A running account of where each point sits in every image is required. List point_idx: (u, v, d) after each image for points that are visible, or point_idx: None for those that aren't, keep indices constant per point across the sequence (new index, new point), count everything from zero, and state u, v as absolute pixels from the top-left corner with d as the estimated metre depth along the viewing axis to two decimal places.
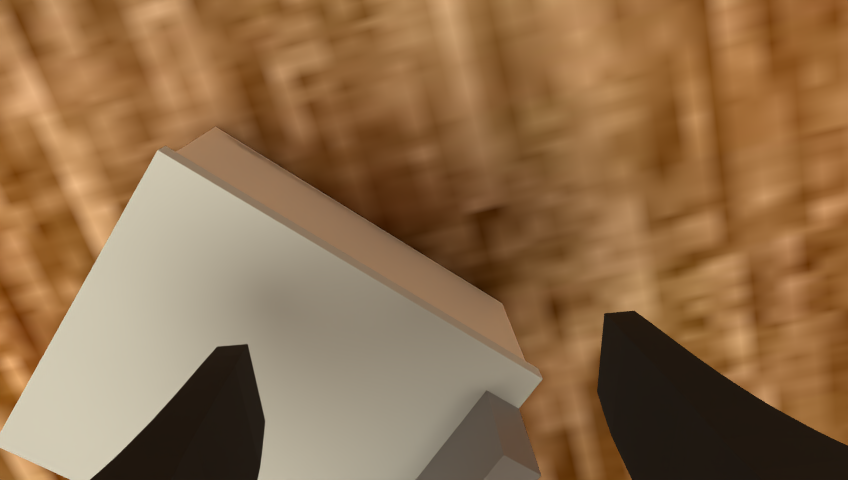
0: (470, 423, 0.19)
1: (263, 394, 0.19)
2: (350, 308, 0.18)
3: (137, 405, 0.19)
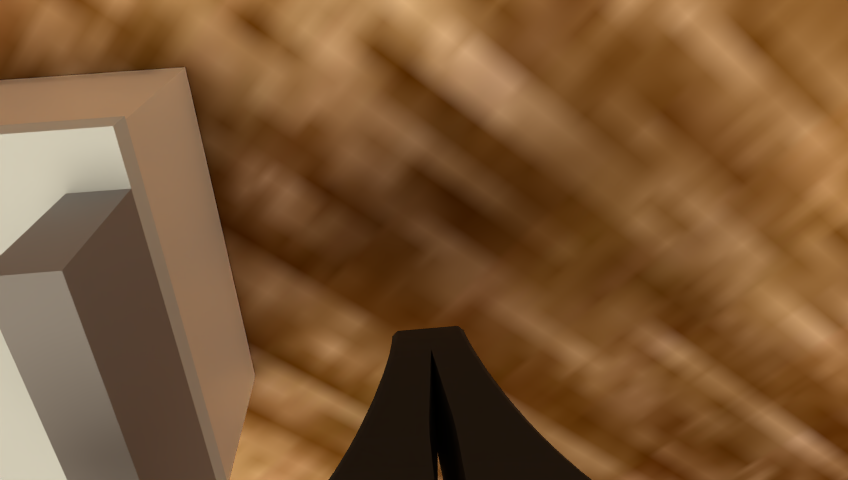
0: None
1: None
2: None
3: None
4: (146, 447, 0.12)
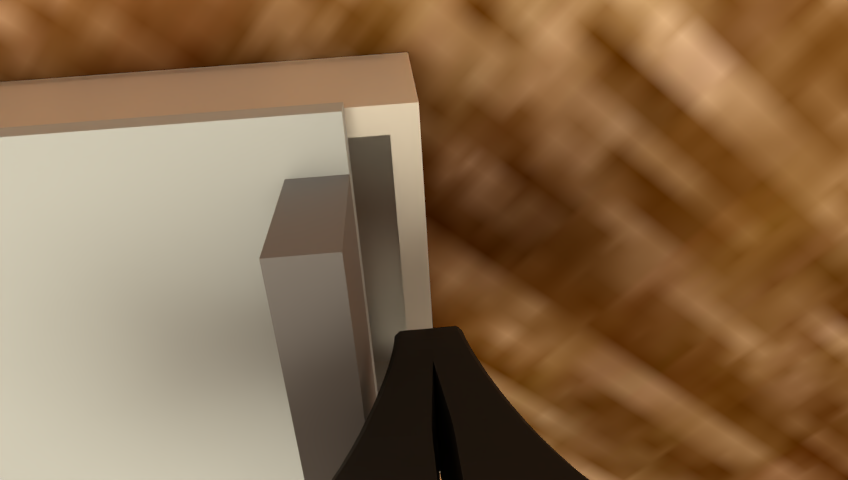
0: None
1: (51, 359, 0.14)
2: (20, 194, 0.12)
3: None
4: None
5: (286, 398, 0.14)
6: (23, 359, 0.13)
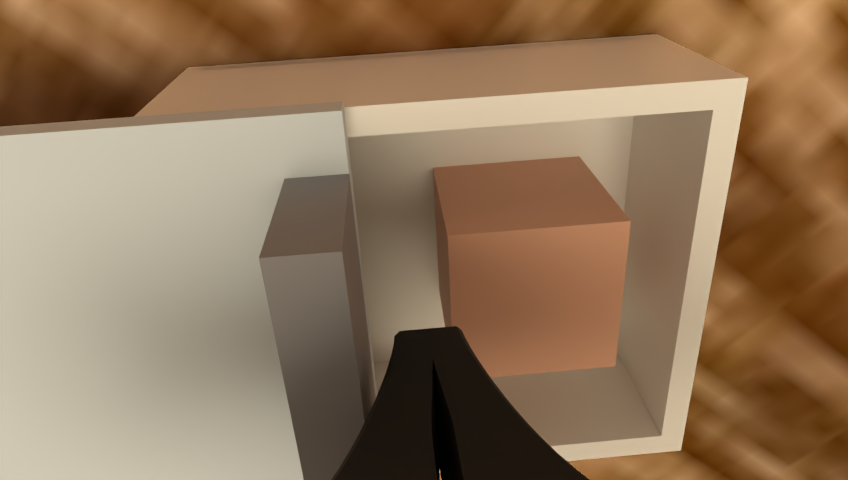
0: None
1: (50, 358, 0.13)
2: (19, 193, 0.12)
3: None
4: None
5: (285, 398, 0.14)
6: (22, 358, 0.13)
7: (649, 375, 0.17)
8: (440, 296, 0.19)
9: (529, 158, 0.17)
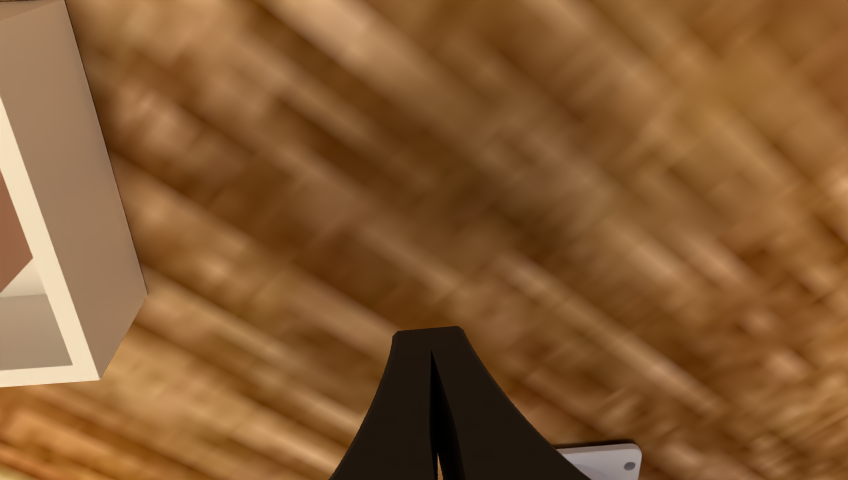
0: None
1: None
2: None
3: None
4: None
5: None
6: None
7: None
8: None
9: None
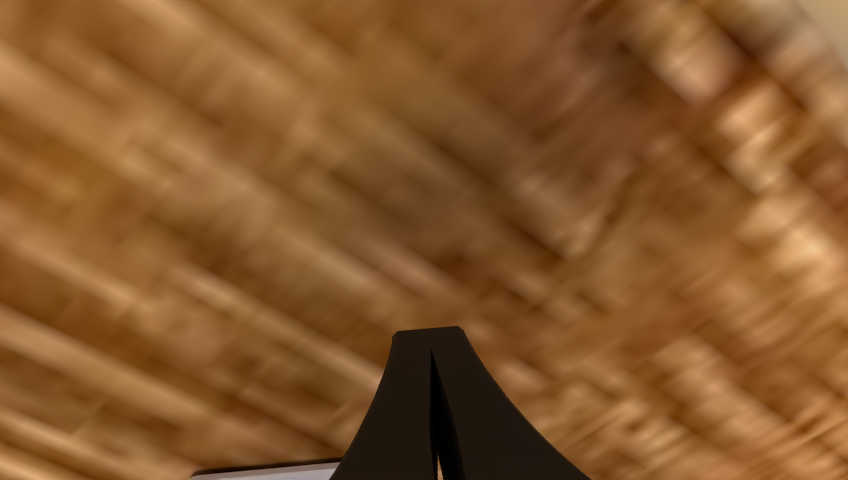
0: None
1: None
2: None
3: None
4: None
5: None
6: None
7: None
8: None
9: None
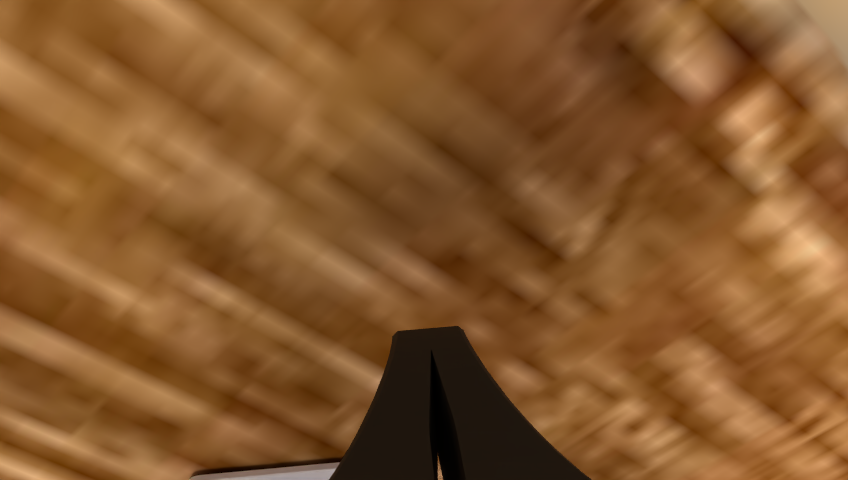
0: None
1: None
2: None
3: None
4: None
5: None
6: None
7: None
8: None
9: None
